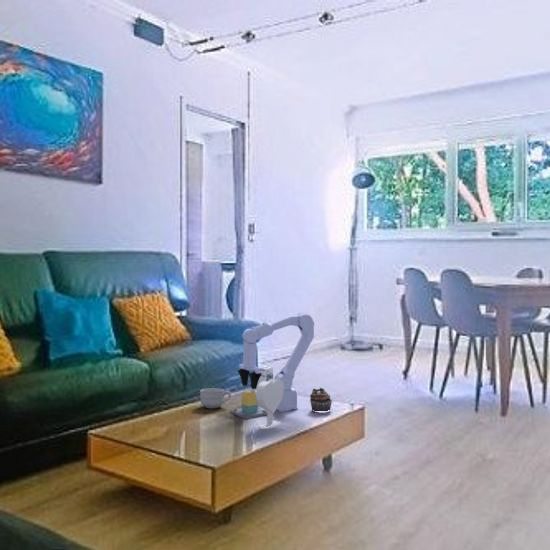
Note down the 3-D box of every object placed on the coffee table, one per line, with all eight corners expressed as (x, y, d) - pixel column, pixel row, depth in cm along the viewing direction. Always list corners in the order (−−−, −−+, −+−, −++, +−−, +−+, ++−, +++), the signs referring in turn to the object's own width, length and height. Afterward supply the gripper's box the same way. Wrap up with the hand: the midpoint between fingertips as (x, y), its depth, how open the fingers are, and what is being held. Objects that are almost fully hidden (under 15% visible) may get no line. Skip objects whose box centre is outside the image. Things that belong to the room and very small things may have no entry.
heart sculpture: (275, 419, 258) (275, 376, 257) (285, 421, 255) (285, 378, 255) (254, 428, 245) (254, 383, 244) (264, 430, 242) (264, 384, 241)
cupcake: (320, 415, 265) (320, 392, 265) (305, 410, 273) (305, 388, 273) (336, 411, 272) (336, 389, 271) (321, 407, 279) (321, 385, 279)
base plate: (254, 408, 275) (254, 398, 275) (268, 414, 265) (269, 403, 265) (230, 412, 268) (230, 401, 268) (245, 418, 258) (245, 407, 258)
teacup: (196, 409, 274) (196, 391, 274) (205, 403, 285) (206, 386, 284) (225, 411, 270) (225, 393, 270) (234, 405, 281) (234, 388, 280)
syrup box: (266, 398, 295) (266, 368, 294) (256, 396, 298) (256, 367, 298) (273, 396, 299) (273, 366, 299) (263, 394, 303) (263, 365, 302)
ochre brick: (251, 402, 270) (251, 390, 270) (257, 404, 266) (257, 392, 266) (241, 403, 267) (241, 391, 267) (247, 406, 263) (247, 393, 263)
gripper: (233, 354, 275) (233, 385, 276) (250, 359, 263) (250, 391, 264) (246, 353, 279) (246, 383, 280) (264, 358, 267) (264, 389, 268)
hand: (249, 387), depth 272 cm, fingers open, 7 cm apart
